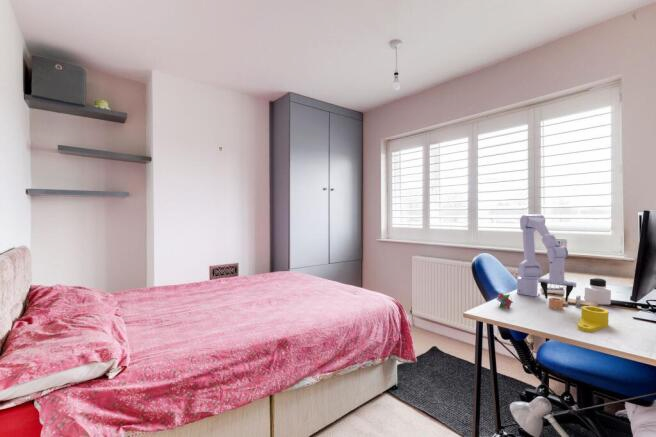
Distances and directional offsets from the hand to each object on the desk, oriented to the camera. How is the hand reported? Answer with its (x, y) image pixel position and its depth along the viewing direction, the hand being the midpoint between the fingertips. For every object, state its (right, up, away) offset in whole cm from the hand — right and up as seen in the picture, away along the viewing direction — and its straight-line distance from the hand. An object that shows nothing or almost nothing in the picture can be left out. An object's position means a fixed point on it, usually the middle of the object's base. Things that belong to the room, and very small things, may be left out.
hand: (556, 299), depth 144 cm
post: (+11, -4, +1) cm, 12 cm away
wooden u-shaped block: (+13, -4, +3) cm, 14 cm away
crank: (-2, -5, -22) cm, 22 cm away
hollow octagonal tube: (0, -4, 0) cm, 4 cm away
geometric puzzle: (-24, -4, +2) cm, 24 cm away
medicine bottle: (+26, -4, +8) cm, 28 cm away
